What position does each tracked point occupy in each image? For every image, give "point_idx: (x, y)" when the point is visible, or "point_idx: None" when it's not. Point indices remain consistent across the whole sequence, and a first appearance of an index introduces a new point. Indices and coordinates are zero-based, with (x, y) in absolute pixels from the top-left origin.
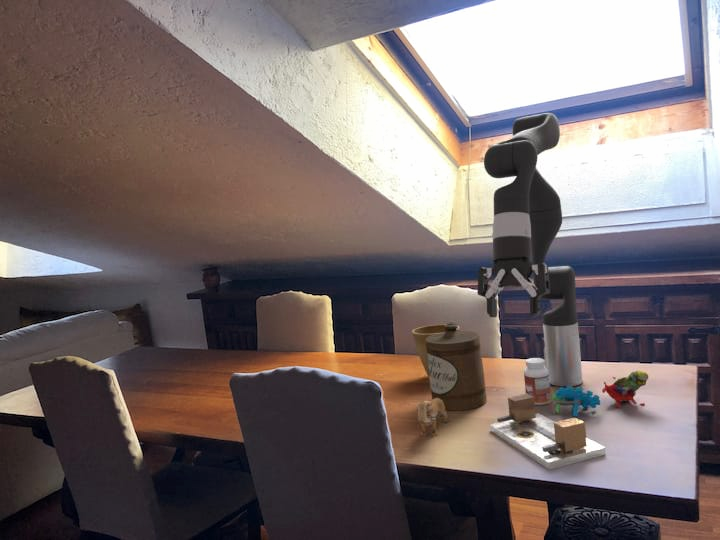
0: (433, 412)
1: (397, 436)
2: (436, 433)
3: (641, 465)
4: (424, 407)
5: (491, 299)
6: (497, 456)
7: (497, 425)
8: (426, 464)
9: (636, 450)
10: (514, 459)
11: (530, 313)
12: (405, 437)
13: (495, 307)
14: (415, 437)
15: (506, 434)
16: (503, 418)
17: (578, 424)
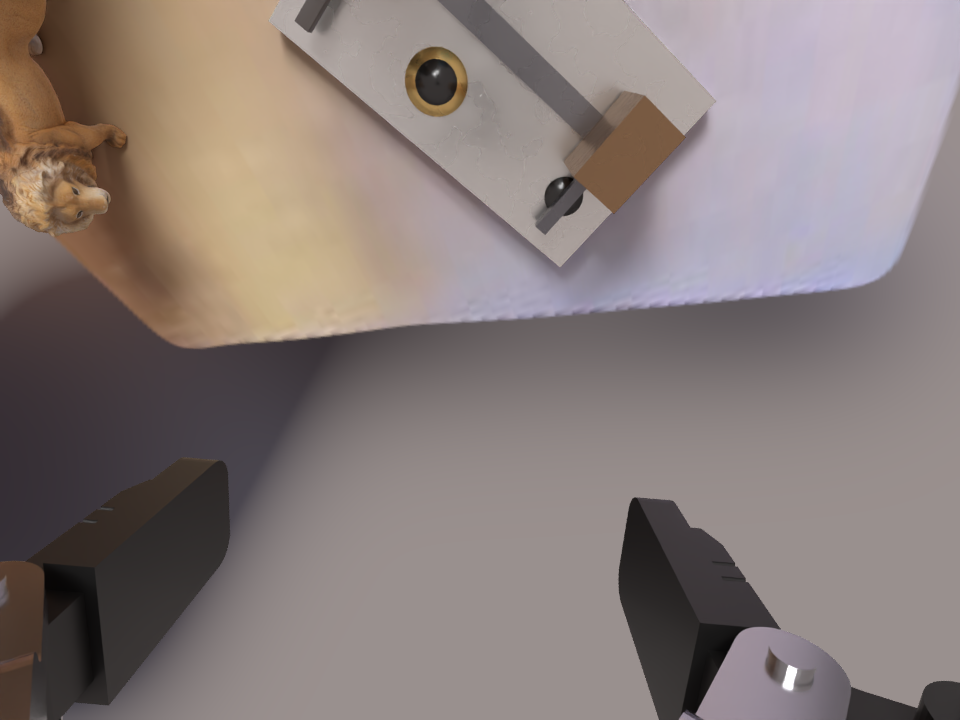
0: (95, 210)
1: None
2: (121, 138)
3: (807, 140)
4: (55, 235)
5: (102, 694)
6: (395, 228)
7: None
8: (242, 339)
9: (810, 21)
10: (449, 230)
11: (627, 607)
12: None
13: (171, 543)
14: None
15: (372, 104)
16: (318, 12)
17: (662, 161)
